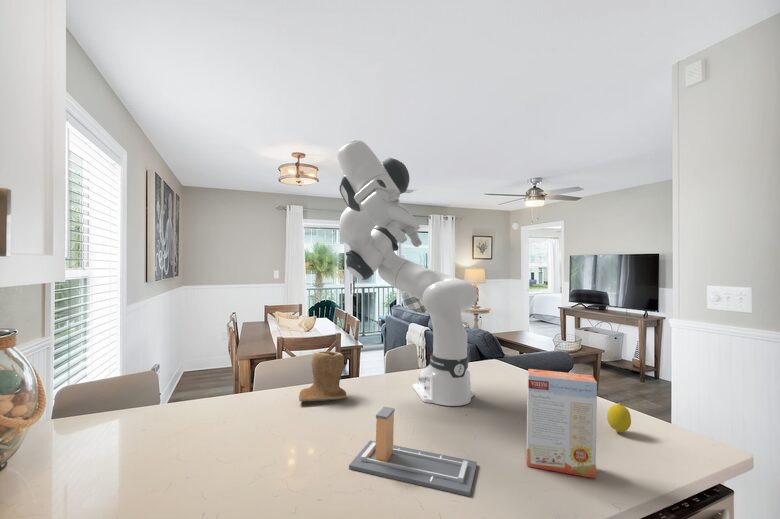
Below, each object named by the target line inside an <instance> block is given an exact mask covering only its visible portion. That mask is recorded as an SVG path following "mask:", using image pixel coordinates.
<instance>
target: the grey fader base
mask: <svg viewBox="0 0 780 519" xmlns="http://www.w3.org/2000/svg"><path fill="white" fill-rule="evenodd" d="M477 466H478V461H476V460H471V459H466V458H460V457H456V456H450V455H445V454H440V453H435V452H432V451H431V452H429V451H426V450H425V451H424V450H419V449H415V448H410V447H404V446H399V445H397V444H396V445H395V444H393V453H392V455H391V456H390V458H389V459H388V461H387V462H383V461H378V460H376V440H369V441H368V442H367V443H366V444H365V445H364V447H363V448H362V449H361V451H359V453H358V454H357V455H356V456H355V457H354V458H353V460H352V461H351V462H350V463H349V465H348V469H349V470H354V471H356V472H357V471H358V472H362V473H365V474H370V475H374V476H375V475H376V476H379V477H383V478H388V479H392V480H396V481H401V482H405V483H410V484H414V485H418V486H422V487H427V488H431V489H436V490H441V491H444V492H448V493H453V494H457V495H461V496H466V497H471V494H472V493H471V491H472V487H473V484H474V480H475V475H476V471H477Z"/></svg>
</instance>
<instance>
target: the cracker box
mask: <svg viewBox="0 0 780 519" xmlns="http://www.w3.org/2000/svg"><path fill="white" fill-rule="evenodd" d="M527 371H528V372H527V401H526V402H527V403H526V404H527V405H526V408H527V409H526V466H527V467H530V468H535V469H540V470H541V469H542V470H545V471H551V472H557V473H563V474H568V475H569V474H570V475H575V476H580V477H586V478H589V479H591V478H592V479H595V478H596V465H597V464H596V462H597V459H596V457H597V456H596V455H597V412H598V411H597V409H598V408H597V407H598V406H597V405H598V401H597V400H598V399H597V398H598V382H597V380H596V378H595V377H594V375H592V374H583V373H582V374H581V373H573V372H565V371H564V372H563V371H553V370H543V369H535V368H534V369H533V368H528V370H527Z"/></svg>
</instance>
